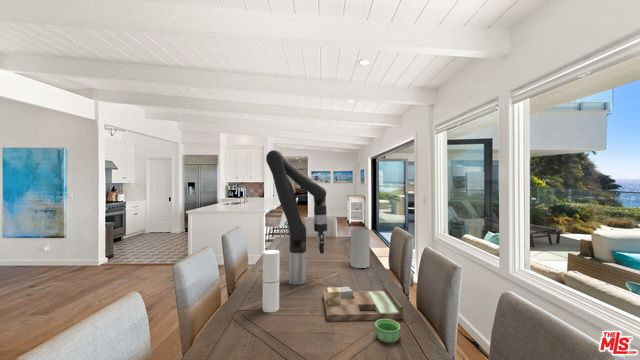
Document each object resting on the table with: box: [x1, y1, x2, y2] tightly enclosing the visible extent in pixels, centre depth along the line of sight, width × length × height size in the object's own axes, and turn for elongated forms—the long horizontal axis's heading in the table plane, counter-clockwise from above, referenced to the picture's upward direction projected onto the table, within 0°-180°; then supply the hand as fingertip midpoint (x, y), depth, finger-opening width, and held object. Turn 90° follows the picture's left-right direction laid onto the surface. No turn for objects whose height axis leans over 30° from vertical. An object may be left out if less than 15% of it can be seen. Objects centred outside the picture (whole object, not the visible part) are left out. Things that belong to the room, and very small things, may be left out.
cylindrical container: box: [262, 249, 280, 313], centre depth 122 cm, size 7×7×25 cm
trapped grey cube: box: [339, 286, 354, 299], centre depth 131 cm, size 6×6×6 cm
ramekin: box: [374, 319, 401, 343], centre depth 101 cm, size 9×9×4 cm
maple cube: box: [326, 286, 341, 305], centre depth 124 cm, size 6×6×6 cm
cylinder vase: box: [350, 226, 371, 269], centre depth 185 cm, size 12×12×25 cm
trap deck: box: [322, 285, 404, 322], centre depth 125 cm, size 31×24×5 cm
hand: (321, 251), depth 156 cm, fingers open, 8 cm apart
